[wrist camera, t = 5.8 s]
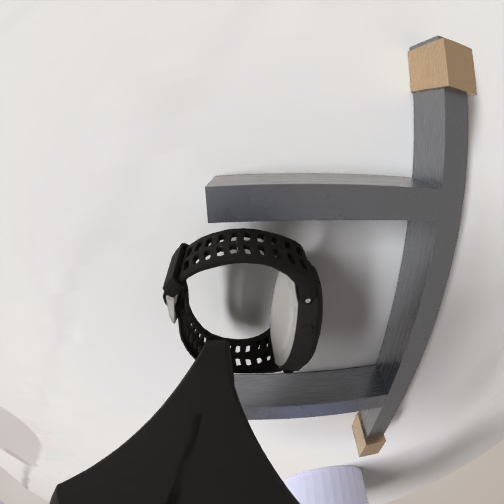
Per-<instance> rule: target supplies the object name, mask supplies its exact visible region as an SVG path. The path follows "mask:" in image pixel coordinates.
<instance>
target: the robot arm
mask: <svg viewBox="0 0 504 504" xmlns="http://www.w3.org/2000/svg"><path fill="white" fill-rule="evenodd" d="M0 504H4V503H3V502H1V501H0ZM50 504H368V499H367V494H366V490H365V485H364V480H363V475H362V471H361V469H360V468H359V467H356V466H348V465H342V466H330V467H323V468H318V469H313V470H309V471H305V472H302V473H299V474H296V475H294V476H291V477H289V478H287V479H286V480H285V481H284V482H283V481H282V479H281V478H280V477H279V475H278V474H277V472H276V471H275V469H274V468H273V466H272V464H271V463H270V461H269V460H268V458H267V456H266V455H265V453H264V452H263V450H262V448H261V446H260V444H259V443H258V441H257V439H256V437H255V435H254V433H253V431H252V429H251V427H250V425H249V423H248V420H247V418H246V416H245V413H244V411H243V408H242V406H241V403H240V400H239V398H238V395H237V392H236V388H235V381H234V372H233V365H232V358H231V351H230V343H229V342H228V341H227V340H207V342H206V343H205V344H204V346H203V348H202V350H201V352H200V353H199V355H198V357H197V358H196V360H195V362H194V363H193V365H192V366H191V368H190V369H189V371H188V372H187V374H186V375H185V377H184V378H183V379H182V381H181V382H180V384H179V385H178V386H177V388H176V389H175V390H174V392H173V393H172V394H171V395H170V397H169V398H168V399H167V400H166V402H165V403H164V404H163V405H162V407H161V408H160V409H159V410H158V411H157V412H156V413H155V414H154V416H153V417H152V418H151V419H150V420H149V421H148V422H147V423H146V424H145V425H144V426H143V427H142V428H141V429H140V430H139V431H137V432H136V433H135V434H134V435H133V436H132V437H131V438H130V439H129V440H127V441H126V442H125V443H124V444H123V445H121V446H120V447H119V448H118V449H116V450H115V451H114V452H112V453H111V454H109V455H108V456H107V457H105V458H104V459H102V460H101V461H99V462H98V463H97V464H95V465H94V466H92V467H90V468H89V469H87V470H85V471H83V472H82V473H80V474H78V475H76V476H74V477H72V478H70V479H68V480H66V481H65V482H62V483H60V484H58V485H57V486H56V489H55V491H54V493H53V495H52V498H51V501H50Z"/></svg>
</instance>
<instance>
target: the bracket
mask: <svg viewBox="0 0 504 504" xmlns="http://www.w3.org/2000/svg"><path fill="white" fill-rule="evenodd" d="M408 58H409V69H410V82H411V92H413V96H414V158H413V176H412V178H409V177H395V176H379V175H357V174H317V173H287V174H245V175H223V176H215V177H214V178H213V179H212V180H211V181H210V182H209V183H208V184H207V186H206V187H205V191H206V204H207V216H208V223H220V222H248V221H287V220H408V226H407V233H406V240H405V246H404V252H403V258H402V264H401V269H400V274H399V279H398V284H397V289H396V294H395V298H394V302H393V307H392V311H391V315H390V319H389V323H388V326H387V330H386V334H385V337H384V341H383V344H382V348H381V351H380V354H379V358H378V361H377V364H376V365H373V366H366V367H358V368H350V369H341V370H331V371H319V372H306V373H289V374H259V375H234V381H235V388H236V392H237V395H238V398H239V400H240V403H241V406H242V408H243V411H244V413H245V416H246V418H247V420H263V419H289V418H304V417H316V416H326V415H334V414H342V413H349V412H356V411H360V412H359V413H357V415H356V418H355V420H354V423H353V425H352V429H353V433H354V437H355V441H356V445H357V450H358V454H359V457H362V456H367V455H372V454H377V453H378V452H379V451H380V449H381V448H382V446H383V445H384V443H385V442H386V440H385V436H384V433H385V431H386V429H387V427H388V426H389V424H390V422H391V420H392V418H393V417H394V415H395V413H396V411H397V409H398V407H399V405H400V403H401V401H402V399H403V397H404V395H405V393H406V391H407V389H408V387H409V385H410V383H411V380H412V378H413V376H414V374H415V371H416V369H417V367H418V364H419V362H420V360H421V357H422V355H423V352H424V350H425V347H426V345H427V342H428V339H429V337H430V334H431V331H432V328H433V326H434V323H435V320H436V317H437V314H438V311H439V307H440V304H441V301H442V298H443V294H444V291H445V287H446V283H447V280H448V276H449V272H450V268H451V264H452V260H453V255H454V251H455V246H456V241H457V236H458V230H459V224H460V218H461V212H462V205H463V197H464V189H465V179H466V166H467V148H468V105H467V95H477V93H476V80H475V71H474V62H473V55H472V49H471V48H468V47H466V46H464V45H461V44H459V43H457V42H454V41H451V40H449V39H446V38H443V37H441V36H436V37H433V38H431V39H429V40H426V41H424V42H421V43H419V44H417V45H415V46H412V47H410V51H409V52H408Z"/></svg>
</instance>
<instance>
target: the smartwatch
mask: <svg viewBox="0 0 504 504" xmlns="http://www.w3.org/2000/svg"><path fill="white" fill-rule="evenodd" d="M233 237H237V239H236V241H231V239H232V238H233ZM244 237H247V238H250V240H249V241H245V240H243V239H244ZM258 238H261V239H263V240H264V241H263V242H258V240H257V239H258ZM220 240H224V241H223V242H220ZM211 242H212V243H211ZM219 242H220V243H219ZM271 242H272V243H274V244H271ZM210 243H211V245H210V246H208V245H209V244H210ZM232 249H235V250H237V253H233V254H231V253H230V250H232ZM244 249H249V250H250V252H251V254H246V253H245V250H244ZM259 250H260V251H263V252H264V255H261V253H260V251H259ZM220 251H222V252H224V255H222V256H217V253H219V252H220ZM208 255H211V257H210V259H208V260H206V259H205V257H207V256H208ZM275 256H276V257H275ZM198 259H199V262H198V263H197V264H196V261H197V260H198ZM235 263H253V264H262V265H267V266H271V267H273V268H275V269H277V270H278V271H279V273H278V276H277V280H276V283H275V288H274V293H273V300H272V306H271V318H270V328H269V329H268V330H267V331H266V332H264V333H262V334H261V335H259V336H256V337H253V338H248V339H230V338H223V337H220V336H217V335H214V334H212V333H210V332H209V331H207V330H206V329H204V328H203V327H202V326H201V324H200V323H199V322H198V321H197V319H196V318H195V316H194V314H193V313H192V310H191V308H190V305H189V294H188V286H187V283H186V279H187V278H189V277H190V276H192V275H194V274H196V273H198V272H200V271H203V270H206V269H210V268H214V267H218V266H222V265H227V264H235ZM163 290H164V294H163V299H164V302H165V304H166V305H167V306H168V311H169V316H170V318H171V320H172V322H173V323H174V324H175V322H176V320H177V318H178V322H179V333H180V337H181V340H182V342H183V344H184V346H185V348H186V349H187V351H188V352H189V354H190V355H191V356H192V357H193V358H194V359H195V360H196V358H197V357H198V355H199V353H200V352H201V350H202V348H203V346H204V344H205V343H206V342H207V340H227V341H228V342H229V343H230V346H231V349H230V351H231V358H232V365H233V372H234V373H274V372H279V371H282V370H283V372H284V373H293V372H294V371H298V370H300V369H301V368H302V367H303V366H304V365H306V364H307V363H308V362H309V361H310V359H311V358H312V356H313V354H314V352H315V350H316V346H317V342H318V339H319V335H320V330H321V323H322V312H323V303H322V290H321V284H320V280H319V277H318V274H317V271H316V269H315V268H314V266H312V265H311V263H310V262H309V261H308V260H307V257H306V254H305V252H304V250H303V248H302V246H301V245H300V244H299V243H297V242H296V241H294V240H291V239H289V238H287V237H284V236H281V235H278V234H274V233H270V232H267V231H261V230H256V229H245V228H241V229H228V230H224V231H220V232H216V233H212V234H209V235H207V236H204V237H201V238H200V239H198V240H196V241H195V242H193V243H192V244H191V245H188V244H186V243H182V244H181V245H180V246H179V248H178V249H177V250H176V252H175V253H174V255H173V256H172V259H171V262H170V266H169V269H168V272H167V276H166V279H165V282H164V286H163ZM191 323H192V325H191ZM195 329H196V331H195ZM199 334H201V335H200V337H199ZM204 337H205V338H206V342H204ZM267 344H268V347H267ZM259 345H260V349H258V347H259ZM236 346H240V352H239V353H236V352H235V350H236ZM246 346H250V351H249V352H245V351H246ZM268 356H270V357H271V358H270V360H269V361H267V357H268ZM237 358H238V359H240V362H241V365H238V366H236V361H235V359H237ZM257 358H261V359H262V362H261V363H259V364H258V363H257ZM246 359H250V360H251V365H246V361H245V360H246Z"/></svg>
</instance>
